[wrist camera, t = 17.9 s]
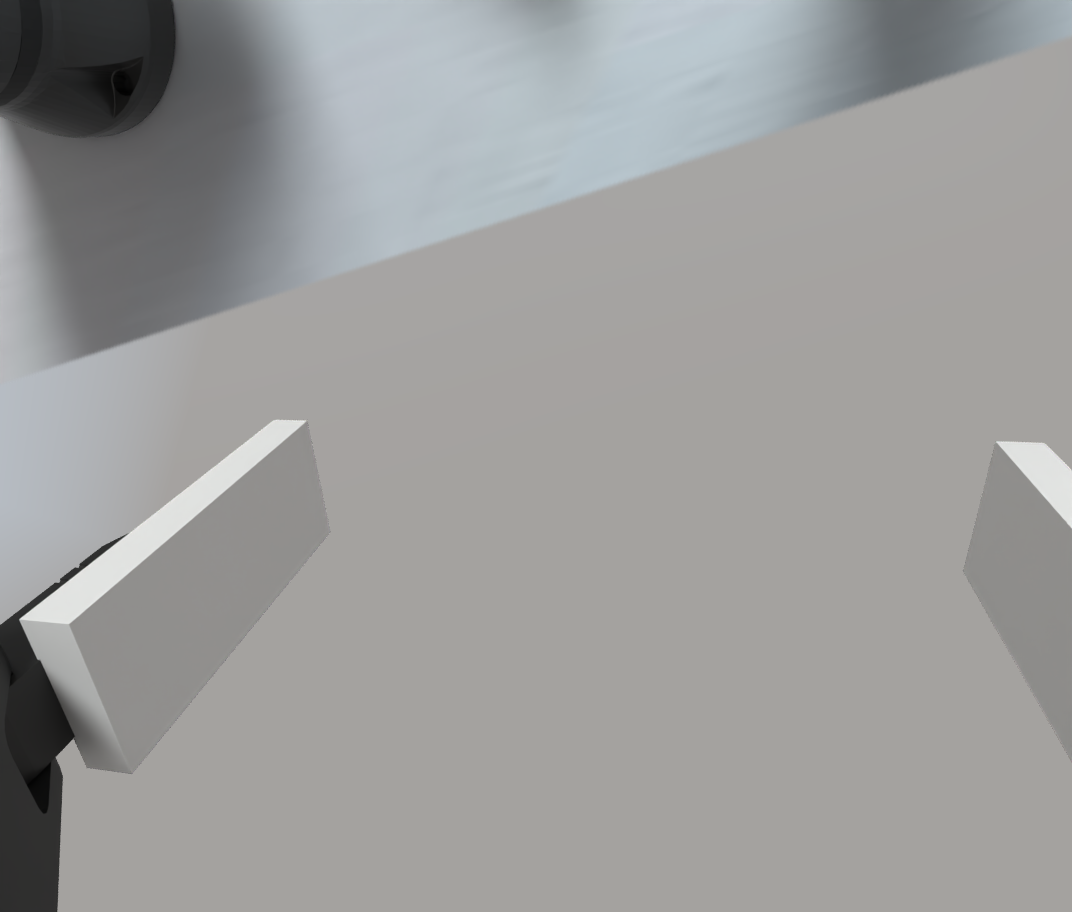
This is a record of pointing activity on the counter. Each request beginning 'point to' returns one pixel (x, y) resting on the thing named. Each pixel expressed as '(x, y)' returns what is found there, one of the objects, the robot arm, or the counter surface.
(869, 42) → the counter surface
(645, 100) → the counter surface
